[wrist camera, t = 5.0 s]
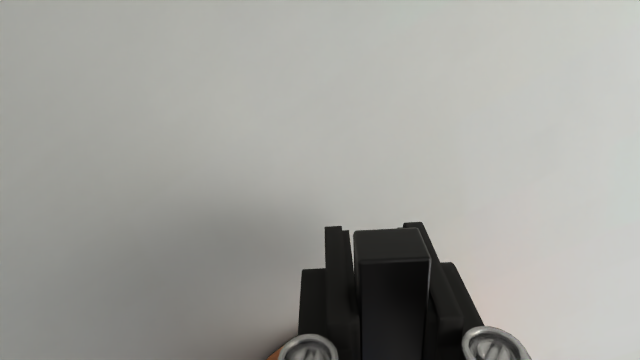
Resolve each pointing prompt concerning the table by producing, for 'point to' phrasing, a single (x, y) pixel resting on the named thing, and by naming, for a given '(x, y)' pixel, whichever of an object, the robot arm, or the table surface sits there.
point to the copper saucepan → (390, 293)
